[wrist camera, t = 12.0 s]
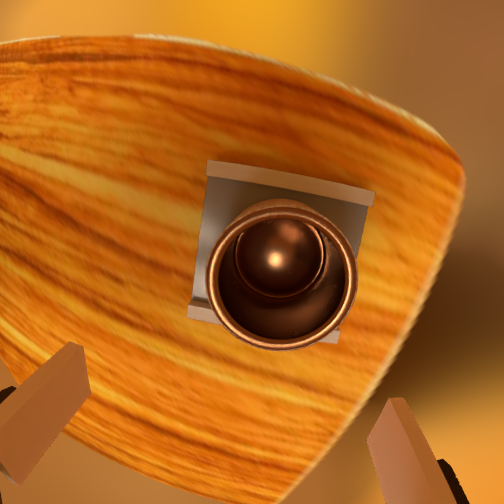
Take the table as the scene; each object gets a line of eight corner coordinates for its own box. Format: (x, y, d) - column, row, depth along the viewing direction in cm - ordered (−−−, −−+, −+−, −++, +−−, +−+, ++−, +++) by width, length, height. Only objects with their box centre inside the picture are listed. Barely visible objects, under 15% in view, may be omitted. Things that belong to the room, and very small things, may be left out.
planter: (267, 175, 28) (265, 169, 18) (354, 243, 28) (389, 268, 19) (203, 263, 30) (174, 296, 21) (288, 323, 31) (293, 376, 21)
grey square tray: (194, 305, 33) (186, 317, 30) (214, 162, 30) (207, 159, 26) (331, 329, 33) (336, 343, 29) (364, 191, 29) (375, 191, 26)
